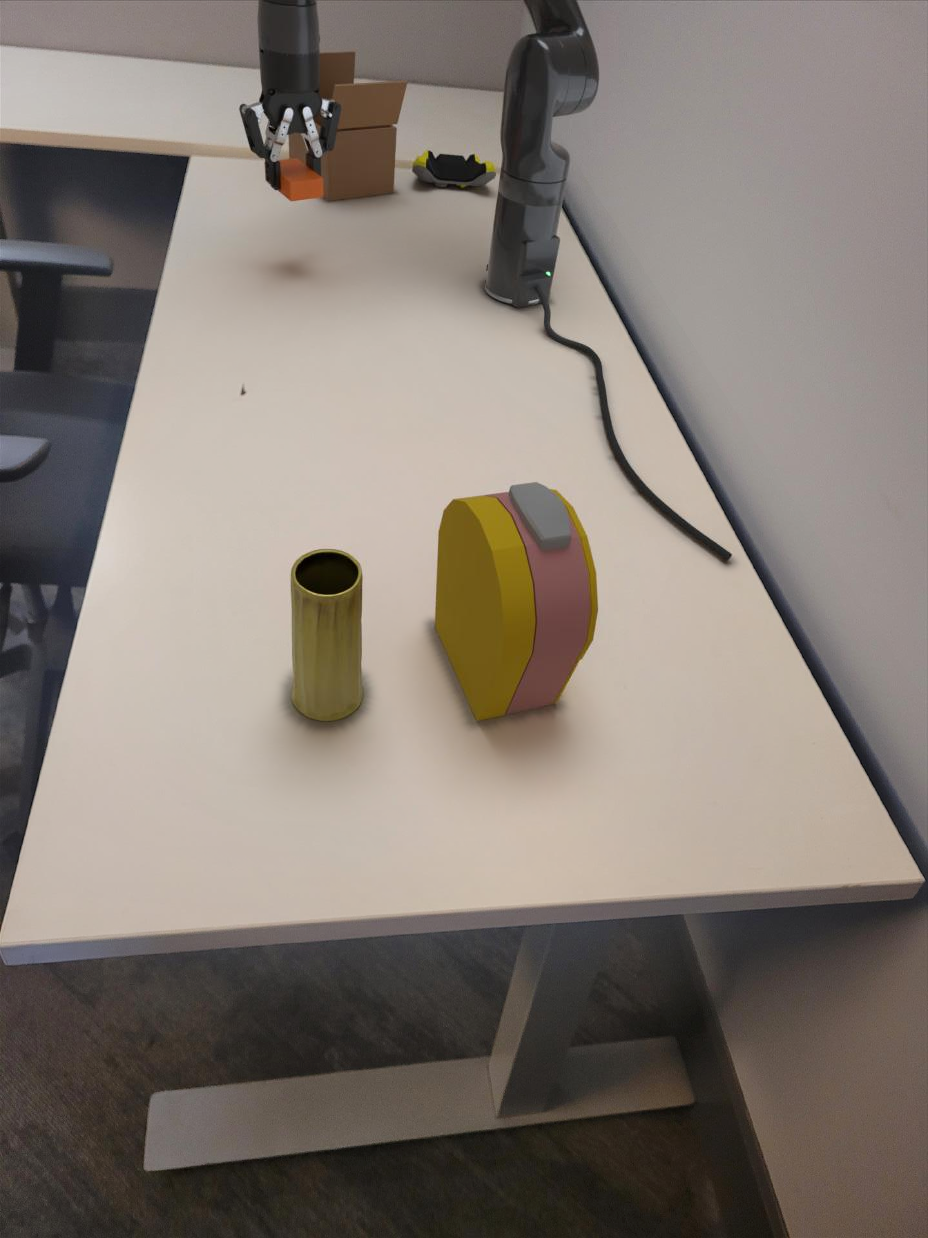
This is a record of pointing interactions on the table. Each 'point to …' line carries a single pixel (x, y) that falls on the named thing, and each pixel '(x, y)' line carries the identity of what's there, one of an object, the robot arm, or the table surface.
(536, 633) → the tape measure
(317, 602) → the vase
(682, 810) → the table surface
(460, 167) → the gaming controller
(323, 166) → the cardboard box
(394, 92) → the box flap
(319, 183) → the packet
